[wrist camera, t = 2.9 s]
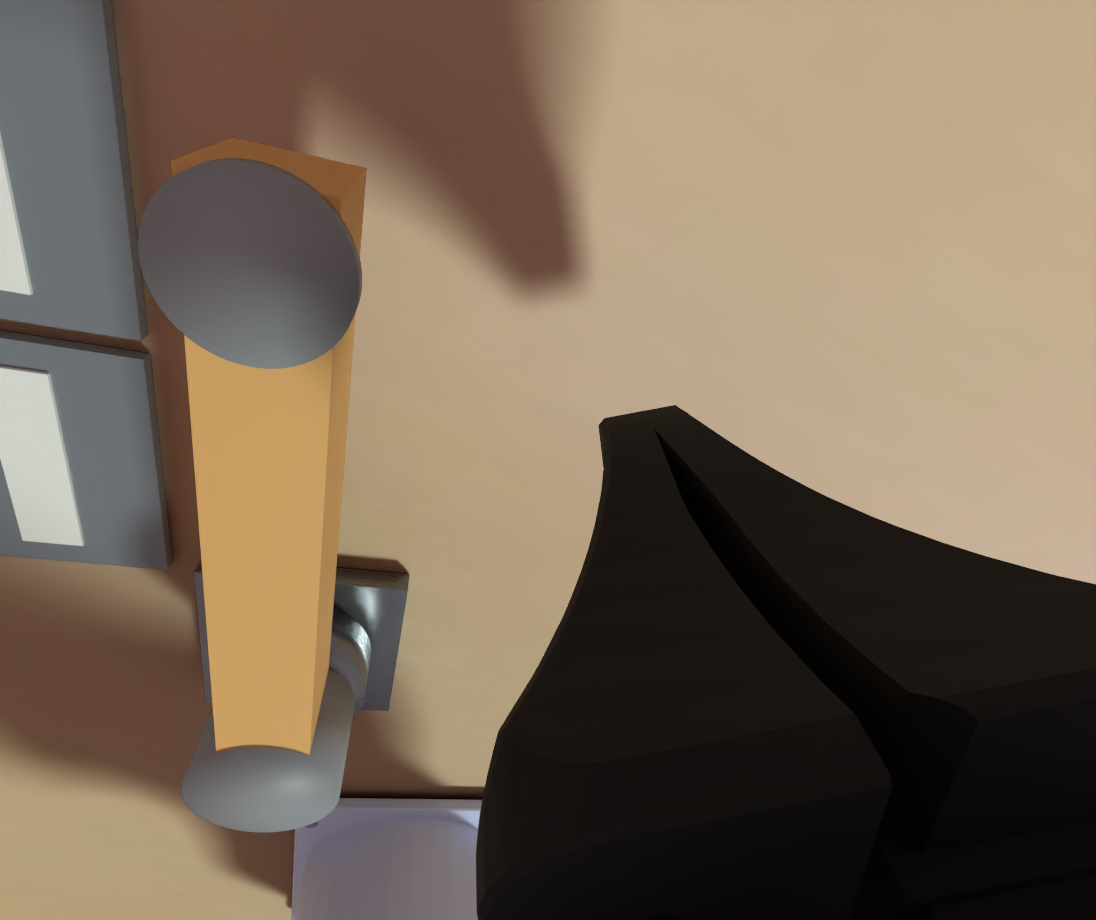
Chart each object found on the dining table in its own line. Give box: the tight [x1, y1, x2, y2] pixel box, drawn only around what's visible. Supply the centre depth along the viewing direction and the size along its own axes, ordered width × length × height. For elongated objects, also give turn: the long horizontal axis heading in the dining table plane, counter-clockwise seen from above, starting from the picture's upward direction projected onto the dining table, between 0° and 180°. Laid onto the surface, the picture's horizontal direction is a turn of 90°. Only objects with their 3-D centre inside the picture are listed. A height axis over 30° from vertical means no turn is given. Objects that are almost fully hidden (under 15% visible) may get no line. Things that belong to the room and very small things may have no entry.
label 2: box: [0, 330, 173, 570], centre depth 13 cm, size 6×4×1 cm, turn 167°
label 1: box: [0, 0, 148, 341], centre depth 10 cm, size 6×4×1 cm, turn 167°
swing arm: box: [138, 137, 367, 833], centre depth 11 cm, size 14×3×2 cm, turn 167°
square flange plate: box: [194, 560, 409, 717], centre depth 16 cm, size 5×5×2 cm
